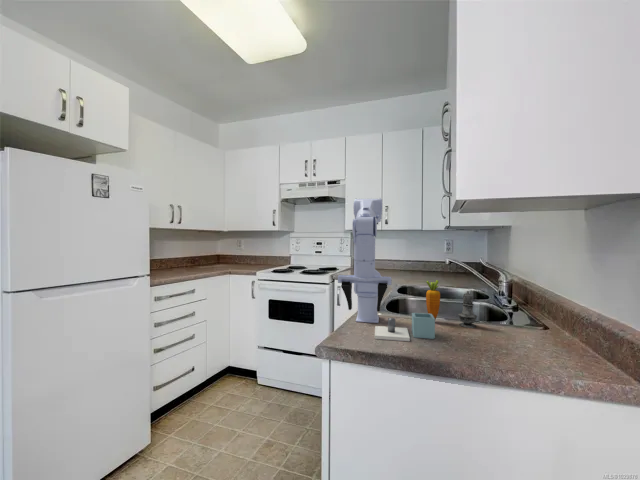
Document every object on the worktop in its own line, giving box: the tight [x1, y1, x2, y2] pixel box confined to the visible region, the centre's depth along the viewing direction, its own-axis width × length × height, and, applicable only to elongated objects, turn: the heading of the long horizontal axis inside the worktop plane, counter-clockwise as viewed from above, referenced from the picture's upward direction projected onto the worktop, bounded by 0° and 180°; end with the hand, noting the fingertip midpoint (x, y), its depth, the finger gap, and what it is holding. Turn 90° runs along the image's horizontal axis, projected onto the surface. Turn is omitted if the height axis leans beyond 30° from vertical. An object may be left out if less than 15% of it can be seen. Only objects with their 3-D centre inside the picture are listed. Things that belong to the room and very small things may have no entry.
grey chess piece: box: [458, 290, 478, 329], centre depth 104 cm, size 6×6×12 cm
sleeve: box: [411, 312, 436, 340], centre depth 94 cm, size 6×6×6 cm
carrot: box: [425, 279, 441, 320], centre depth 108 cm, size 5×5×15 cm
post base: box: [374, 317, 411, 342], centre depth 93 cm, size 10×10×5 cm
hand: (364, 309), depth 83 cm, fingers open, 7 cm apart
